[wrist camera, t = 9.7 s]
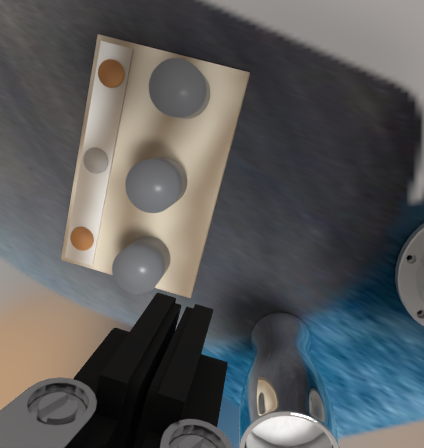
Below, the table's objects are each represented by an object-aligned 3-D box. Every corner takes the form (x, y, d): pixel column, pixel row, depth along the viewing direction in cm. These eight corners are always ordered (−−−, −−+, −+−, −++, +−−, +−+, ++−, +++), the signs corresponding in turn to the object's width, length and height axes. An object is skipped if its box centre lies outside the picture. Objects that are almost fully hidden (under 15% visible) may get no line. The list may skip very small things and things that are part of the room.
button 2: (174, 243, 38) (164, 255, 34) (165, 284, 39) (153, 300, 35) (132, 231, 38) (116, 242, 34) (123, 271, 39) (108, 286, 35)
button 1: (215, 73, 34) (209, 65, 30) (203, 124, 35) (195, 122, 31) (167, 61, 34) (155, 52, 30) (157, 111, 35) (143, 109, 31)
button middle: (192, 163, 35) (183, 167, 31) (181, 210, 36) (170, 219, 32) (145, 151, 35) (131, 153, 31) (136, 197, 36) (120, 205, 32)
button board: (250, 74, 35) (249, 71, 33) (192, 294, 40) (189, 300, 39) (102, 36, 36) (95, 32, 34) (65, 256, 41) (58, 261, 40)
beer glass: (244, 309, 40) (231, 409, 25) (314, 306, 39) (342, 409, 24) (249, 369, 41) (240, 497, 27) (317, 369, 40) (345, 502, 26)
